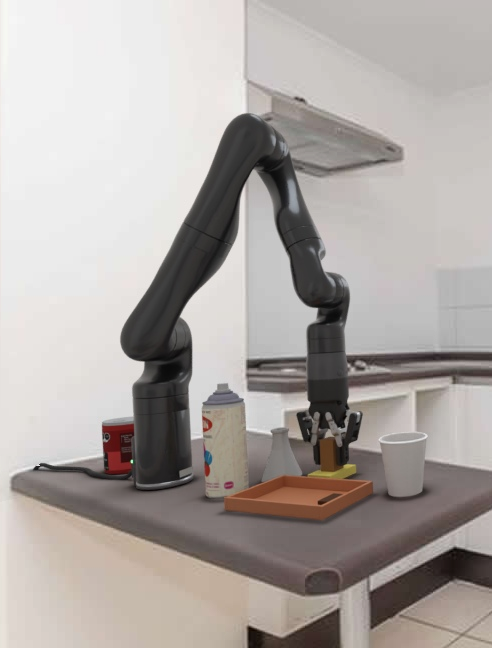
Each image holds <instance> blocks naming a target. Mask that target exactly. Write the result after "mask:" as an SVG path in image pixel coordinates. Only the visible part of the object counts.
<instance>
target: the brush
mask: <svg viewBox="0 0 492 648" xmlns="http://www.w3.org/2000/svg"><path fill="white" fill-rule="evenodd" d="M337 447H338V446H337V443H336V440H335V437H334V436H328V437H325V438H324V439H321V440H320V460H321V465H320V469H318V470H315V471H313V472H310V473H308V474H307V477H321V478H335V479H346V478H347V477H350V476H352V475H354V474H356V473H357V464H351V463H350V464H348V463H347V464H346V465H344V466H338V465H337Z"/></svg>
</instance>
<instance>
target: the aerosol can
mask: <svg viewBox="0 0 492 648" xmlns="http://www.w3.org/2000/svg"><path fill="white" fill-rule="evenodd" d="M216 385H217V387H216V389H215V390H214V392H212V394H210V395H209V396H208V397H207V399H206V400H205V401H203V402H202V406H201V421H202V422H201V423H202V443H203V463H204V483H205V484H204V485H205V495H206V497H207V498H208V499H224V497H227V496H230V495H232V494H235V493H237V492H240V491H243V490H245V489H248V488H250V481H249V480H250V479H249V459H248V443H247V442H248V439H247V438H248V437H247V420H246V419H247V418H246V416H247V415H246V403H245V402H244V401H245V399H244V398H243V397H240V396H239V394H238V393H236V392H234V390H232V389H231V388H230V387H229V382H222V383H217V384H216Z"/></svg>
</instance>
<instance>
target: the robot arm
mask: <svg viewBox="0 0 492 648" xmlns="http://www.w3.org/2000/svg"><path fill="white" fill-rule="evenodd" d="M253 171H255V172H256V174H257V175H258V176H259V178H260V180H261V181H262V183H263V185H264V186H265V188H266V190H267V192H268V194H269V197H270V200H271V204H272V214H273V216H272V217H273V223H274V226H275V227H274V228H275V231H276V233H277V235H278V238H279V240H280V242H281V245H282V248H283V249H284V252H285V253H286V256H287V258H288V261H289V271H290V275H291V282H292V286H293V291H294V292H295V295H296V296H297V298H298V299H299V301H300V302H301V303H302V304H303V305H305V307H307V308H308V307H309V308H311V309H316V310H317V311H316V317H315V320H314V321H312V322H310V323H309V324H307V326H306V330H305V339H306V341H305V342H306V343H305V344H306V360H305V361H306V362H305V375H306V396H307V401H308V402H309V406H308V409H306V410H300V411H298V412H297V413H296V415H295V417H296V420H297V423H298V427H299V430H300V434H301V437H302V440H303V442H304V443H310V445H311V446H312V454H313V461H314V464H315V465H317V466H321V460H320V440H321V439H324V438H326V434H327V433H328V432H329V430H330V433H331V435H332V437H335V440H336V443H337V446H338V447H337V465H338V466H344V465H346V464H348V462H349V460H350V444H351V443H354V442H356V441H358V439H359V434H360V429H361V425H362V419H363V416H364V414H363V412H362V410H358V411H355V410H353V409H351V408H350V406H349V403H348V400H349V398H350V389H349V388H350V387H349V365H348V359H347V352H346V332H345V328H346V325H347V321H348V315H349V309H350V303H351V290H350V286H349V284H348V282H347V280H346V278H345V277H344V276H343V275H341V274H340V273H337V272H333V271H325V269H324V266H323V265H322V261H323V260H324V258H325V257H326V254H327V251H326V250H327V249H326V247H325V244H324V241H323V239H322V237H321V235H320V233H319V232H320V231H318V228H317V226H316V224H315V222H314V219H313V217H312V215H311V213H310V211H309V208H308V206H307V203H306V201H305V198H304V195H303V193H302V190H301V187H300V184H299V183H300V182H299V180H298V177H297V174H296V169H295V167H294V162H293V158H292V154H291V151H290V147H289V144H288V141H287V139H286V138H285V136H284V134H282V133H281V132H280V131H279V130H277V129H276V127H274V126H273V125H271V124H270V123H269V122H268V121H266V120H265V119H263V117H261V116H259V115H257V114H255V113H251V112H244V113H241V114H238V115H237V116H235V117H234V118H232V120H230V122H229V123H228V125H226V127H225V129H224V131H223V133H222V135H221V137H220V141H219V142H218V145H217V148H216V151H215V153H214V157H213V159H212V161H211V164H210V167H209V169H208V171H207V174H206V176H205V178H204V180H203V183H202V184H201V187H200V189H199V191H198V193H197V195H196V196H195V199H194V201H193V203H192V205H191V207H190V209H189V211H188V212H187V214H186V215H185V218H184V219H183V221H182V223H181V224H180V227H179V228H178V231H177V233H176V234H175V237H174V239H173V241H172V242H171V245H170V247H169V250H168V251H167V253H166V255H165V256H164V258H163V260H162V262H161V264H160V266H159V267H158V269H157V271H156V273H155V275H154V277H153V280H152V281H151V283H150V284H149V286H148V288H147V289H146V291H145V292H144V294H143V296H142V297H141V298H140V300H139V301H138V303H137V304H136V306H135V307H134V309H133V310H132V311H131V313H130V314H129V316H128V318H127V319H126V320H125V322H124V324H123V326H122V327H121V330H120V336H119V343H120V348H121V350H122V352H123V354H124V355H126V357H127V358H128V359H130V360H133V361H136V362H139V363H140V362H141V363H143V371H142V373H141V375H140V377H138V379H136V380H135V381H134V382H133V383H132V387H131V394H132V395H131V396H132V413H133V416H132V417H133V418H134V436H133V437H132V439H131V442H132V461H131V470H130V471H129V472H128V473H126V474H122V475H115V474H107V473H102V472H97V471H94V470H93V469H91V468H88V467H85V466H68V465H67V466H62V465H52V464H50V463H46V462H39V463H40V464H39V463H38V464H39V465H40V466H36V465H35V466H34V467H33V468H32V471H38V470H40V468H45V469H49V470H52V471H78V472H85V473H86V474H89V475H90V476H92V477H96V478H101V479H105V480H116V481H118V480H119V481H120V480H122V481H123V480H128V479H130V478H132V479H133V480H132V481H133V487H136V489H137V490H143V491H151V490H152V491H153V490H161V489H168V488H174V487H178V486H181V485H184V484H187V483H189V482H191V481H193V479H194V466H193V452H192V451H193V449H192V433H191V431H192V429H191V411H190V409H191V408H190V394H189V392H190V389H189V388H190V387H189V386H190V382H191V380H192V376H193V358H194V357H193V355H194V354H193V351H194V350H193V349H194V348H193V336H192V331H191V327H190V326H189V324H188V323H187V321H186V320H185V319H183V318H182V317H181V316H182V314H183V311H184V310H185V308H186V307H187V304H188V303H189V302H190V300H191V299H192V298H193V296H194V295H195V294H196V293H197V292H198V291H199V290H200V289H201V288H202V287H204V285H206V284H207V282H208V281H210V279H212V277H214V276H215V274H216V273H217V272H218V271H219V270H220V269H221V268H222V266H223V264H224V263H225V262H226V260H227V258H228V256H229V254H230V252H231V250H232V249H233V246H234V245H235V243H236V240H237V237H238V234H239V229H240V215H241V214H240V210H241V198H242V193H243V191H244V188H245V185H246V183H247V181H248V179H249V178H250V176H251V174H252V173H253Z"/></svg>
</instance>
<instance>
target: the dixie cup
mask: <svg viewBox="0 0 492 648" xmlns="http://www.w3.org/2000/svg"><path fill="white" fill-rule="evenodd" d="M428 437H429V435H428V434H427V433H425V432H421V431H402V432H401V431H400V432H392V433H387V434H384V435H382V436H380V437H379V438H378V442H379V445H380V451H381V458H382V463H383V469H384V475H385V481H386V487H387V493H388V495H389V496H391V497H395V498H404V497H412V496H416V495H418V494H420V493H422V492H423V487H424V486H423V485H424V474H425V461H426V451H427V449H426V448H427V439H428Z"/></svg>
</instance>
